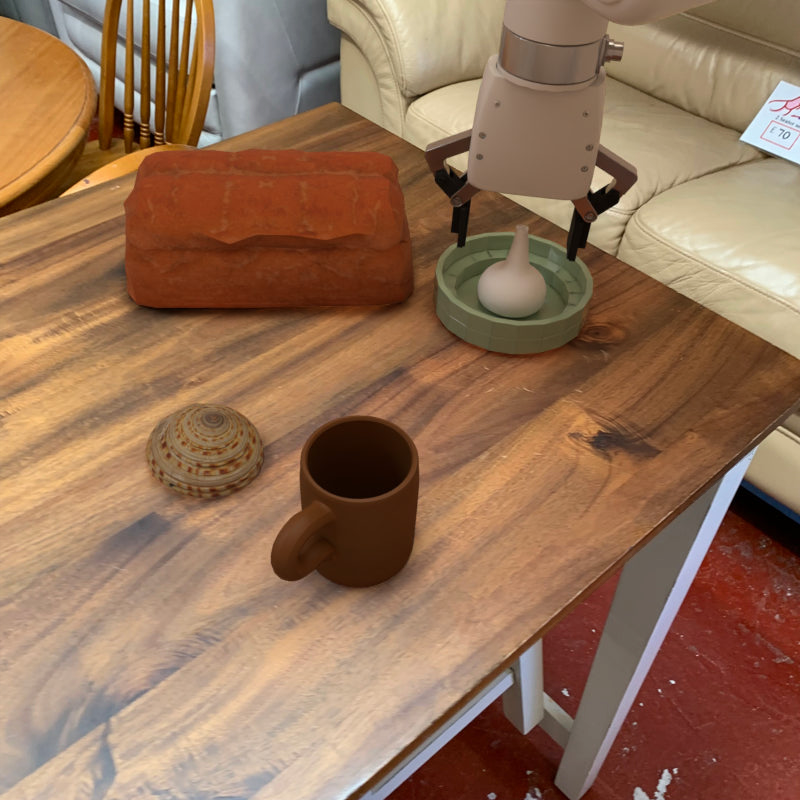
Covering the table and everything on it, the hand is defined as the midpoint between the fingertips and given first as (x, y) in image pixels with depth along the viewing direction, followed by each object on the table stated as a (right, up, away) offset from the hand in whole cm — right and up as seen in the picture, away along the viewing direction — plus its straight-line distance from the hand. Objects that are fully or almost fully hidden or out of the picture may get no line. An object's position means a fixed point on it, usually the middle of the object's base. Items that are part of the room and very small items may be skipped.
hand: (516, 245), depth 73 cm
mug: (-14, -25, -17) cm, 33 cm away
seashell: (-25, -18, -10) cm, 33 cm away
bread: (-23, -1, +8) cm, 24 cm away
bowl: (0, -5, +5) cm, 7 cm away
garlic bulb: (0, -5, +4) cm, 6 cm away
